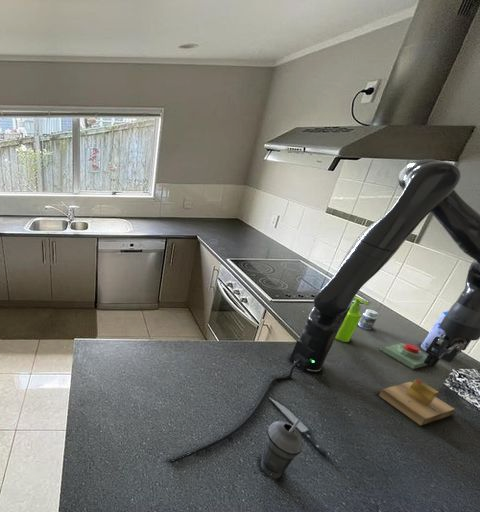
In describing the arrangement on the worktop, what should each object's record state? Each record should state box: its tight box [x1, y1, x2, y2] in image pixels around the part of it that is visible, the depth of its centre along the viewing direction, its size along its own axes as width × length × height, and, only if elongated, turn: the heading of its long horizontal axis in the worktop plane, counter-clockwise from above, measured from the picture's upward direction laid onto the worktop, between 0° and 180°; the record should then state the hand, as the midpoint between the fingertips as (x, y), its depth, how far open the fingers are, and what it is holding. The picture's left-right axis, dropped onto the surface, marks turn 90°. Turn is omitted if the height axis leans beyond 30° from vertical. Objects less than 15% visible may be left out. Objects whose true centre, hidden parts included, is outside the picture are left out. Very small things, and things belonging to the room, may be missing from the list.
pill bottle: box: [357, 308, 379, 330], centre depth 128 cm, size 5×5×8 cm
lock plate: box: [378, 381, 456, 426], centre depth 90 cm, size 14×11×3 cm
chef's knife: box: [269, 397, 327, 457], centre depth 83 cm, size 19×1×3 cm
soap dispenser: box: [335, 296, 372, 343], centre depth 118 cm, size 6×7×20 cm
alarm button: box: [405, 343, 420, 353], centre depth 110 cm, size 4×4×2 cm
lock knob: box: [407, 379, 439, 406], centre depth 89 cm, size 5×2×6 cm, turn 17°
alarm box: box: [382, 342, 428, 370], centre depth 111 cm, size 11×10×4 cm
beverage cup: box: [260, 418, 304, 479], centre depth 68 cm, size 7×7×20 cm
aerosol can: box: [420, 310, 449, 352], centre depth 112 cm, size 8×8×20 cm
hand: (437, 362), depth 87 cm, fingers open, 8 cm apart
